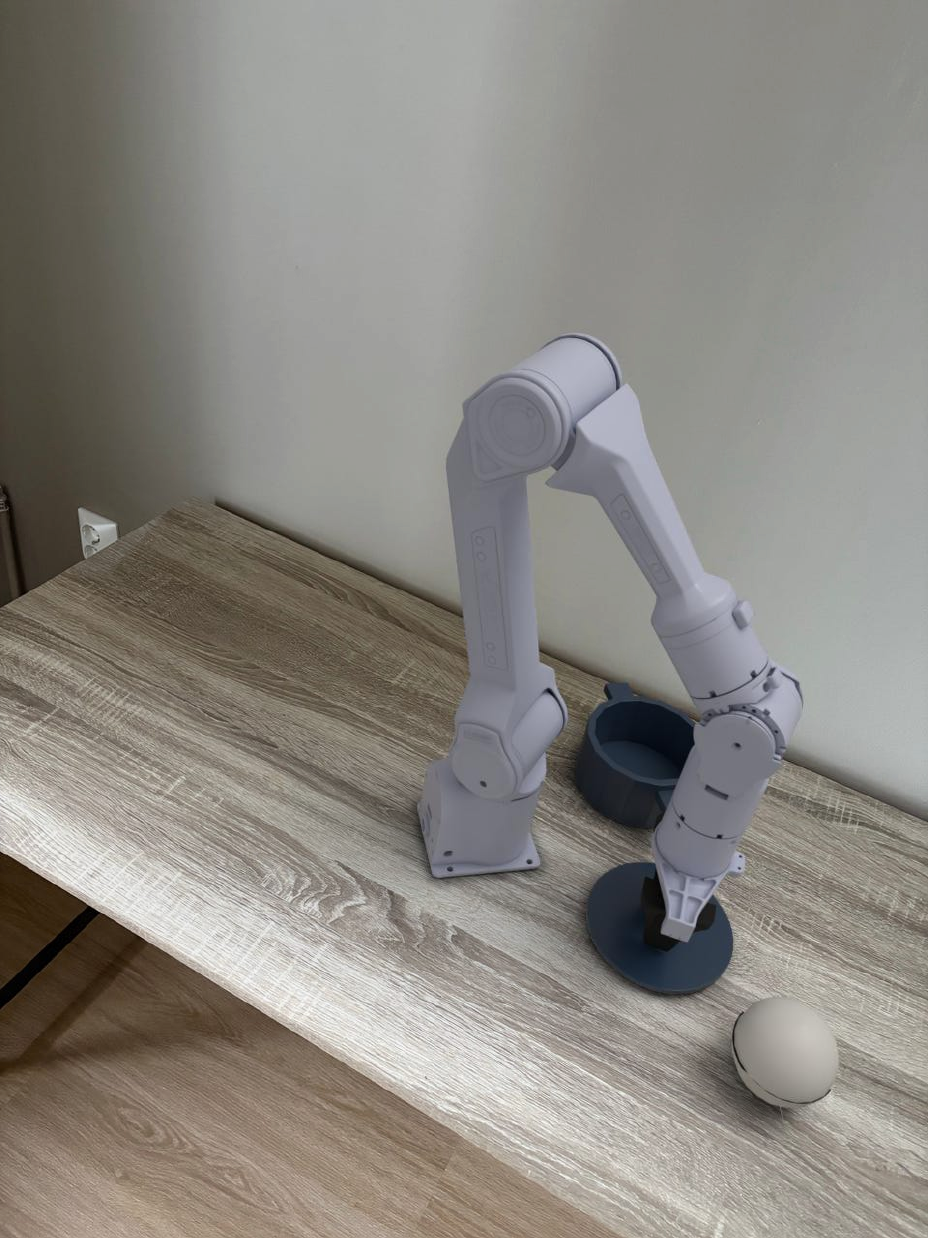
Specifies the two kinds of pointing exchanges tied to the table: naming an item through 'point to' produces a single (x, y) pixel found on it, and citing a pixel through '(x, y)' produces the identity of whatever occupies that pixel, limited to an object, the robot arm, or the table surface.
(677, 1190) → the table surface
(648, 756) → the pot
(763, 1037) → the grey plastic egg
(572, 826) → the table surface
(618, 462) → the robot arm
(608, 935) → the lid
